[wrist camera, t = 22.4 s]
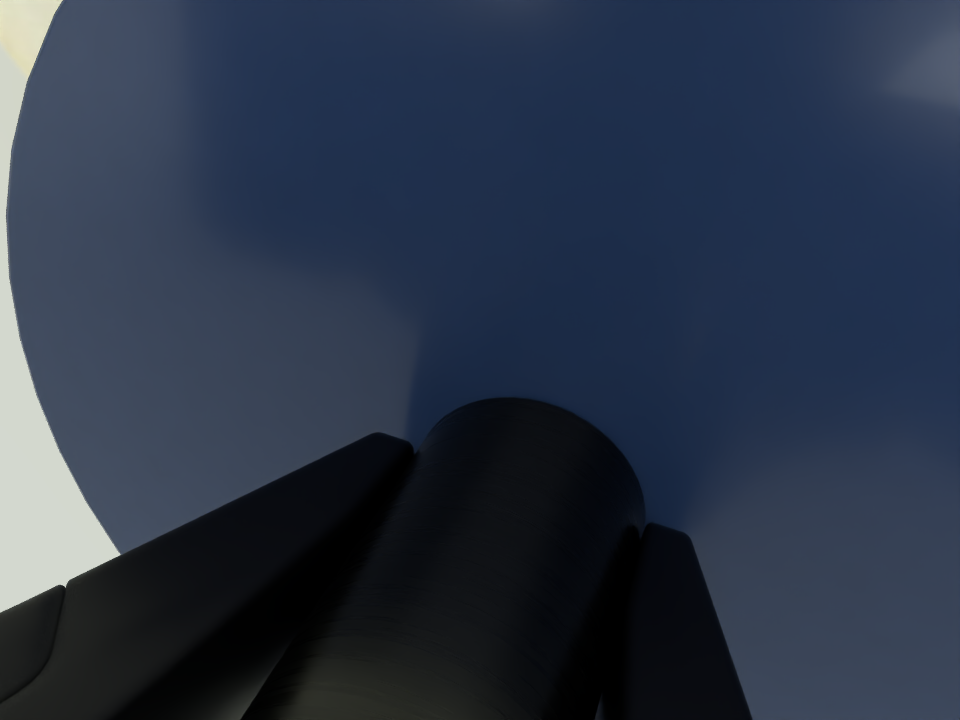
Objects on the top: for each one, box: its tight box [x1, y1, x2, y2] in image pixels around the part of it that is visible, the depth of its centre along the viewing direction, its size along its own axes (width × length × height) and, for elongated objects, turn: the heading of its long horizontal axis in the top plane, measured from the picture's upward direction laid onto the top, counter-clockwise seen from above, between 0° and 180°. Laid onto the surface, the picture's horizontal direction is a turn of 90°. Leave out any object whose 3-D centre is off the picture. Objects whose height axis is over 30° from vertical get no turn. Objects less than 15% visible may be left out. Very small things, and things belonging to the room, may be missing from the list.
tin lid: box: [6, 0, 960, 720], centre depth 8 cm, size 13×13×6 cm
